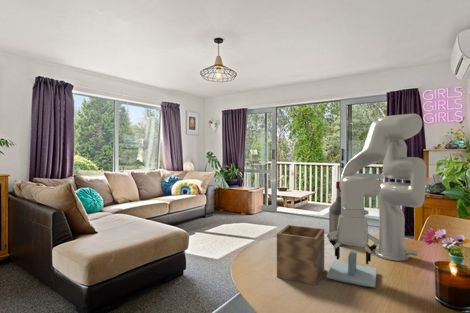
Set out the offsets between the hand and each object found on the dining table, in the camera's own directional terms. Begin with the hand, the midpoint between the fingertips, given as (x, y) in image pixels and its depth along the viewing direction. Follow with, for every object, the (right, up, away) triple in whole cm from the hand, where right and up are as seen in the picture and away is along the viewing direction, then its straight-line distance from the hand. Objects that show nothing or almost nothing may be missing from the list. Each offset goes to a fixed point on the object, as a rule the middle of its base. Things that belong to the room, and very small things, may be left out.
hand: (352, 260), depth 101 cm
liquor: (+10, -6, +39) cm, 40 cm away
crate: (-17, -6, +3) cm, 19 cm away
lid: (0, -6, 0) cm, 6 cm away
